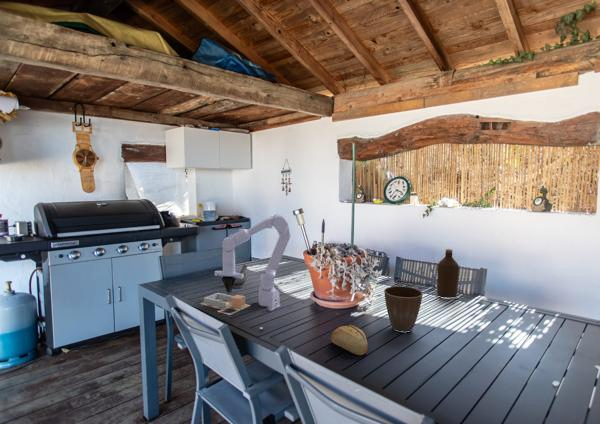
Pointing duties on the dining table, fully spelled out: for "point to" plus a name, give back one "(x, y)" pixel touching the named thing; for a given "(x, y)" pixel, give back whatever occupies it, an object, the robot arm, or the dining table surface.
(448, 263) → the olive oil
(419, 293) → the plant pot
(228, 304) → the birch deck
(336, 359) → the dining table surface
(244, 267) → the mortar and pestle
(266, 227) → the robot arm
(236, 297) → the terracotta block
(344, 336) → the bread roll
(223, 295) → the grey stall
